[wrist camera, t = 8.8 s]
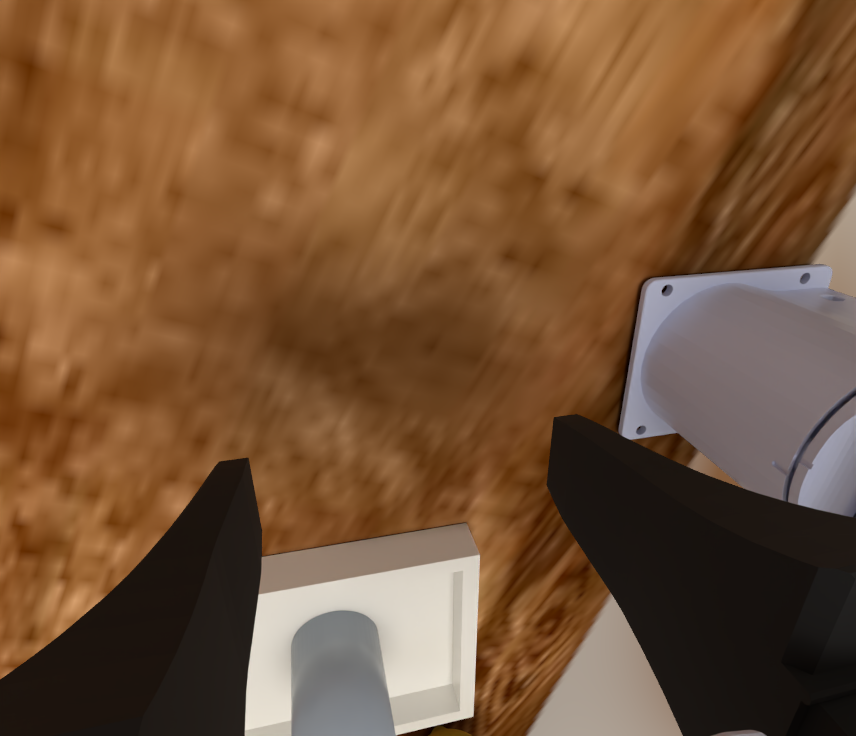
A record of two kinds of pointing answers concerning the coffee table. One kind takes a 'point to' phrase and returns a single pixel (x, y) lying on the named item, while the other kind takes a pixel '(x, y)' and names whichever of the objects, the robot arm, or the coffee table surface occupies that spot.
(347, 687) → the cylinder
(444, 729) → the lemon
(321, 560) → the tray
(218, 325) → the coffee table surface
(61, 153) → the coffee table surface
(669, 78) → the coffee table surface
